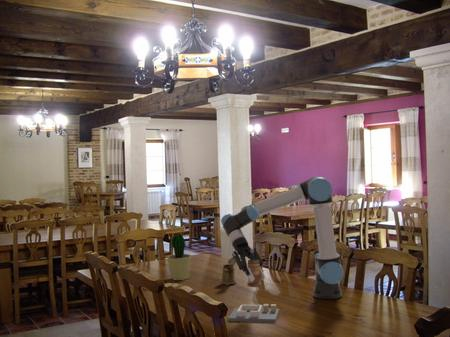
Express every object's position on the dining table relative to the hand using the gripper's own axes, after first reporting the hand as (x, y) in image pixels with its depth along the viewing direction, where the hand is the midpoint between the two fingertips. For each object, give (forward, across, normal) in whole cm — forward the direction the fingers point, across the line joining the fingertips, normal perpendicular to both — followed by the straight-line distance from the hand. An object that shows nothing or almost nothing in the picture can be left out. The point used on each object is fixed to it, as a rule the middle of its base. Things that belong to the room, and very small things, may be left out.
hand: (258, 279), depth 230 cm
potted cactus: (-54, -6, -81) cm, 97 cm away
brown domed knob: (0, 0, -5) cm, 5 cm away
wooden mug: (-30, -23, -56) cm, 68 cm away
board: (+12, +2, -13) cm, 18 cm away
